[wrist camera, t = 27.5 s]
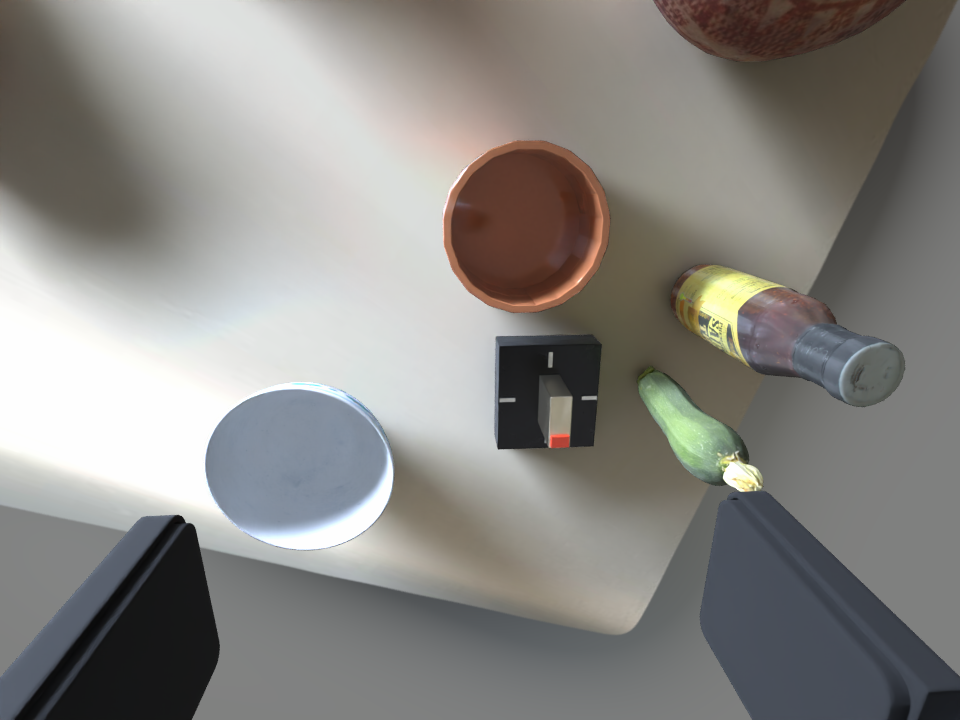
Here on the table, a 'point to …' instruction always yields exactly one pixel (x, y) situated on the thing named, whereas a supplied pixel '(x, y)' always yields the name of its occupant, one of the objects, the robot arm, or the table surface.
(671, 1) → the jug
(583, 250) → the terracotta pot
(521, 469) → the table surface
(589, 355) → the panel
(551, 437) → the hob knob
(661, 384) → the vegetable
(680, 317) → the sauce bottle
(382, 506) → the chinaware
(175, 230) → the table surface
